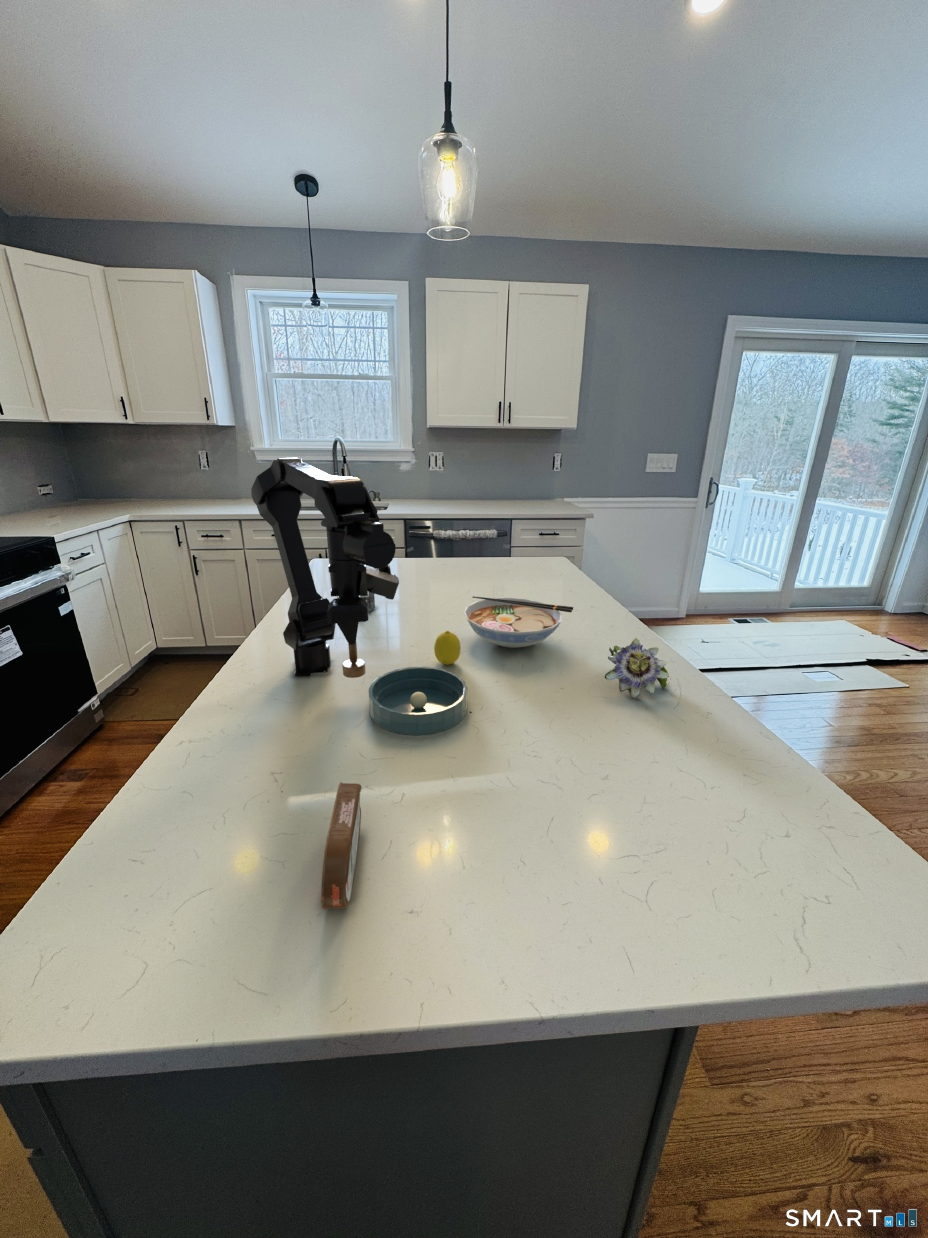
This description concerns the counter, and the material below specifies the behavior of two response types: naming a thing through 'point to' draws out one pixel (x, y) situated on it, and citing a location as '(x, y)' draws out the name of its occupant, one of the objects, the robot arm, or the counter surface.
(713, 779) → the counter surface
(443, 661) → the lemon
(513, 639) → the ramen bowl
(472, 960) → the counter surface
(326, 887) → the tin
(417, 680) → the bowl
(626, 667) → the passion flower
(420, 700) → the dough ball
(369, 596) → the pill bottle
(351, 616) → the robot arm
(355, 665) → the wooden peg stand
